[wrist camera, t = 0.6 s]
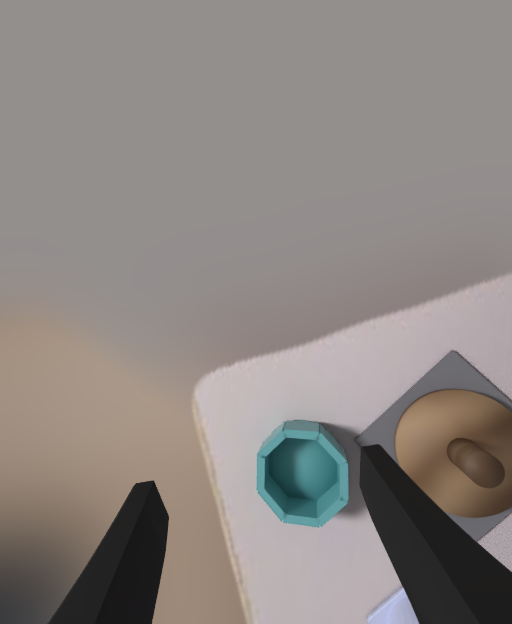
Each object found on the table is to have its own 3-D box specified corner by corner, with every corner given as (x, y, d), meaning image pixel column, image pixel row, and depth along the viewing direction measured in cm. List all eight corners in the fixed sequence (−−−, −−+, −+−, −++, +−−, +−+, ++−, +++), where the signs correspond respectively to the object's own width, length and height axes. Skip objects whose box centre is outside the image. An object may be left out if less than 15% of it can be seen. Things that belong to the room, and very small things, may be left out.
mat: (571, 456, 28) (574, 458, 27) (460, 550, 29) (462, 553, 29) (451, 350, 31) (453, 350, 30) (355, 439, 32) (355, 440, 31)
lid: (557, 456, 28) (608, 482, 23) (461, 537, 29) (491, 578, 24) (453, 364, 30) (480, 369, 25) (369, 441, 31) (379, 461, 26)
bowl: (361, 466, 32) (368, 484, 28) (302, 520, 32) (301, 545, 28) (302, 403, 33) (301, 411, 29) (247, 455, 34) (239, 470, 30)
